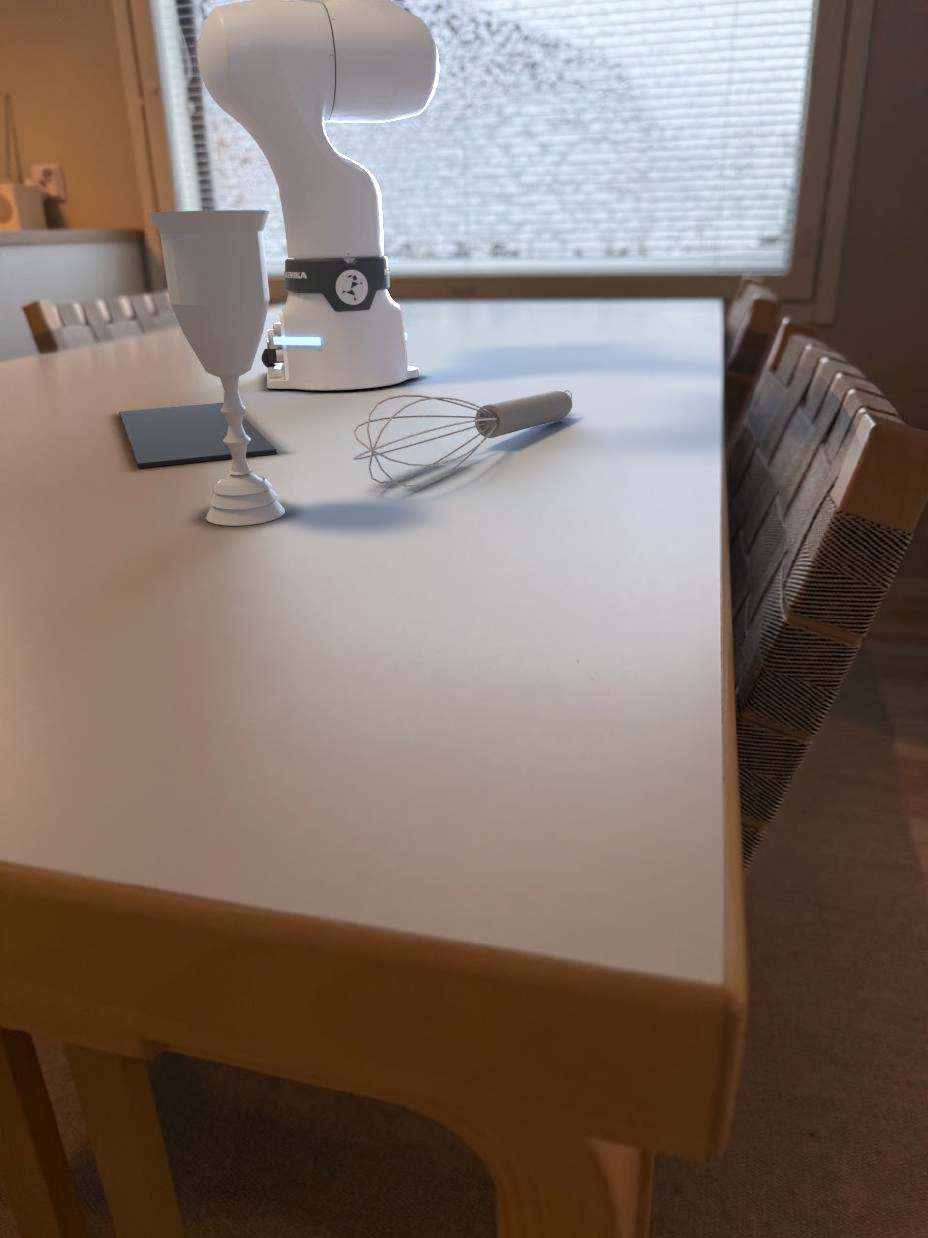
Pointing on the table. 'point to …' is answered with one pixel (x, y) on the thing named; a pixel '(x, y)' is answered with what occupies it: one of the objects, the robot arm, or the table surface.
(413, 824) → the table surface
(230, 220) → the chalice
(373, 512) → the table surface
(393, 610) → the table surface
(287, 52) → the robot arm
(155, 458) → the mat
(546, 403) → the kitchen whisk
